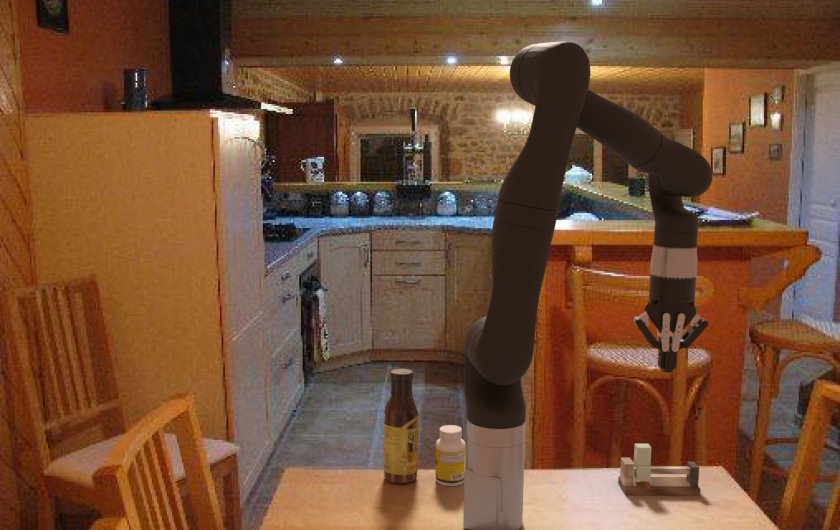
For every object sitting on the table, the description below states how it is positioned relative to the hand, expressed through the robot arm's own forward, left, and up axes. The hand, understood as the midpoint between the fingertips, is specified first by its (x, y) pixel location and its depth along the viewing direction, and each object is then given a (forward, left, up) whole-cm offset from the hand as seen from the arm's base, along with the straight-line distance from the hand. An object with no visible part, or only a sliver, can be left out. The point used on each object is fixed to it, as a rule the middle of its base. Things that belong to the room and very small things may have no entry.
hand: (666, 371), depth 142 cm
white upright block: (-2, +3, -19) cm, 19 cm away
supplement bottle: (-18, +32, -22) cm, 43 cm away
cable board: (-1, 0, -21) cm, 21 cm away
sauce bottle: (-22, +40, -22) cm, 51 cm away
